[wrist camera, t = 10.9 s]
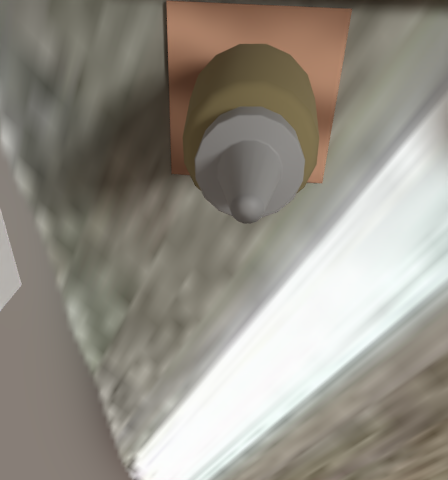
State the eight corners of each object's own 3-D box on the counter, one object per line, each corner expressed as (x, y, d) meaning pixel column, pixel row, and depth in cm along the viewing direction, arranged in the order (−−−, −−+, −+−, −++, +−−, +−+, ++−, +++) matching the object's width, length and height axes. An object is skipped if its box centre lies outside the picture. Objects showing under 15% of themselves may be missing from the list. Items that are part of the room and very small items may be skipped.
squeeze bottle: (292, 163, 32) (326, 319, 16) (189, 143, 31) (122, 280, 16) (323, 51, 28) (411, 113, 12) (206, 26, 27) (138, 56, 12)
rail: (148, -87, 25) (135, -97, 22) (629, -70, 24) (675, -79, 21) (160, 171, 33) (151, 186, 30) (514, 193, 32) (537, 210, 29)
